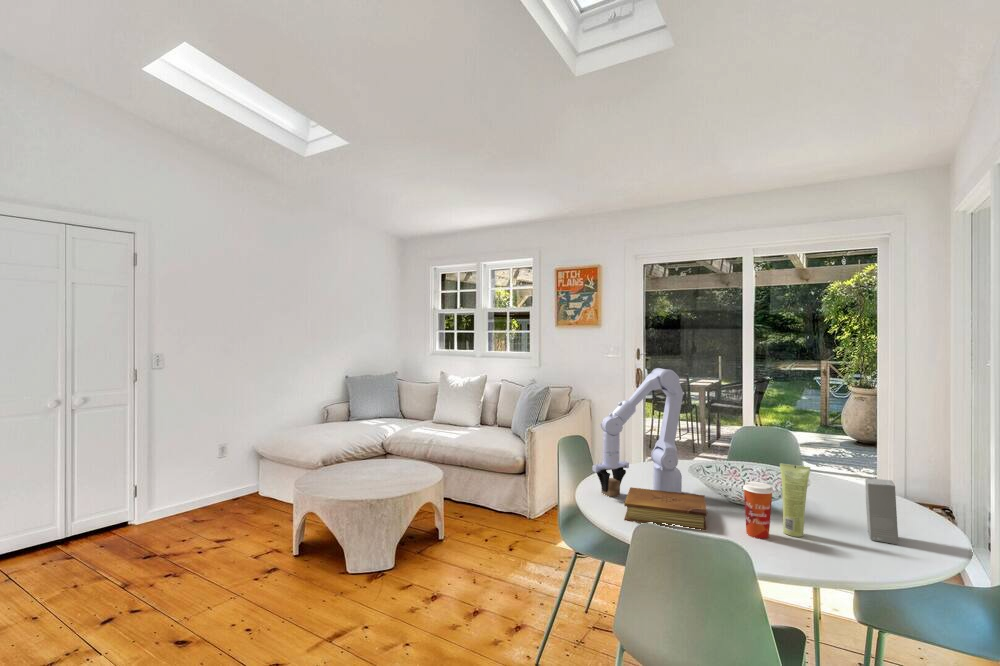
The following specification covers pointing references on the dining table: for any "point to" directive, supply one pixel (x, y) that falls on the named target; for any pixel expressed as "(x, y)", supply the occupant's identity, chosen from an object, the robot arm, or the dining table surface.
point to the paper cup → (757, 508)
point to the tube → (794, 497)
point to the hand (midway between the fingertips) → (610, 490)
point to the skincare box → (881, 510)
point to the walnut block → (612, 488)
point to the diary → (666, 508)
